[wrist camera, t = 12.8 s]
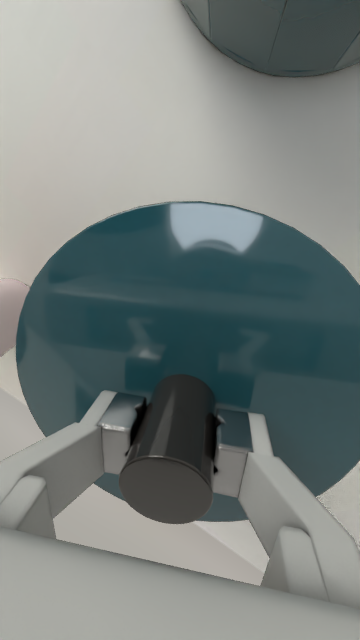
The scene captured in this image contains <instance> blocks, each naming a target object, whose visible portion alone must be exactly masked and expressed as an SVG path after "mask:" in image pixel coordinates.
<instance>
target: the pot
mask: <svg viewBox="0 0 360 640" xmlns="http://www.w3.org/2000/svg"><path fill="white" fill-rule="evenodd" d="M180 1H181V2H182V4H183V6H184V7H185V9H186V11H187V12H188V14H189V16H190V18H191V19H192V20H193V22H194V23H195V24H196V25H197V27H198V28H199V29H200V31H201V32H202V33H203V34H204V36H205V37H206V38H207V39H208V40H209V41H210V42H212V43H213V44H214V45H215V46H216V47H217V48H218V49H219V50H220V51H221V52H223V53H224V54H226V55H227V56H229V57H230V58H232V59H233V60H235V61H236V62H238V63H240V64H242V65H244V66H247V67H249V68H251V69H253V70H255V71H259V72H263V73H267V74H271V75H275V76H288V77H302V76H315V75H320V74H324V73H328V72H333V71H337V70H340V69H343V68H345V67H348V66H351V65H353V64H356V63H358V62H360V0H180Z"/></svg>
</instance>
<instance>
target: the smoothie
mask: <svg viewBox="0 0 360 640" xmlns="http://www.w3.org/2000/svg"><path fill="white" fill-rule="evenodd" d="M29 290H30V288H29V287H28V286H27V285H25V284H24V283H22V282H20V281H17V280H14V279H0V358H1V357H2V356H3V355H4V354H5V353H7V352H8V351H9V350H10V349H11V348H13V347H14V346H15V345H16V334H17V327H18V321H19V316H20V313H21V310H22V307H23V304H24V301H25V297H26V295H27V294H28V292H29Z"/></svg>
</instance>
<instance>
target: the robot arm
mask: <svg viewBox="0 0 360 640" xmlns="http://www.w3.org/2000/svg"><path fill="white" fill-rule="evenodd" d="M146 407H147V399H146V397H142V396H137V395H131V394H126V393H120V392H113V391H107V390H104V391H102V392H101V393H100V395H99V396H98V397H97V399H96V400H95V402H94V403H93V404H92V406H91V407H90V409H89V410H88V411H87V413H86V414H85V416H84V417H83V419H82V420H81V421H80V423H76V422H75V423H73V424H71V425H69V426H67V427H65V428H63V429H61V430H59V431H57V432H56V433H54V434H52V435H50V436H48V437H46V438H44V439H42V440H40V441H38V442H36V443H35V444H33V445H31V446H29V447H27V448H25V449H23V450H21V451H19V452H17V453H15V454H14V455H12V456H10V457H8V458H6V459H4V460H2V461H0V640H360V552H359V549H358V547H357V545H356V542H355V540H354V538H353V537H352V536H351V535H350V534H349V533H348V532H347V530H346V529H345V528H344V527H343V526H342V525H341V524H340V523H339V522H338V521H337V520H336V519H335V517H334V516H333V515H332V514H331V513H330V512H329V511H328V510H327V509H326V508H325V507H324V506H323V504H322V503H321V502H320V501H319V500H318V499H317V498H316V497H315V496H314V495H313V494H312V492H311V491H310V490H309V489H308V488H307V487H306V486H305V485H304V484H303V483H302V482H301V481H300V479H299V478H298V477H297V476H296V475H295V474H294V473H293V472H292V471H291V470H290V469H289V468H288V466H287V465H286V464H285V463H284V462H283V461H282V460H281V459H280V458H279V457H275V456H274V455H273V450H272V446H271V442H270V437H269V433H268V429H267V424H266V420H265V416H264V415H263V414H257V413H249V412H247V413H246V412H240V411H233V410H226V409H219V408H217V410H216V416H215V443H214V489H213V492H214V493H218V494H223V495H227V496H232V497H236V498H238V500H239V502H240V504H241V506H242V508H243V510H244V511H245V513H246V515H247V517H248V519H249V521H250V523H251V525H252V526H253V528H254V530H255V532H256V534H257V536H258V538H259V539H260V541H261V543H262V545H263V547H264V549H265V551H266V552H267V554H268V556H269V558H270V559H269V562H268V565H267V568H266V571H265V574H264V577H263V580H262V583H261V586H257V585H252V584H248V583H244V582H240V581H235V580H231V579H227V578H222V577H218V576H214V575H209V574H205V573H201V572H196V571H191V570H188V569H183V568H179V567H174V566H170V565H166V564H162V563H157V562H153V561H149V560H144V559H140V558H136V557H131V556H127V555H123V554H118V553H113V552H110V551H105V550H101V549H96V548H92V547H88V546H84V545H79V544H75V543H70V542H66V541H62V540H57V539H56V535H55V529H54V524H53V518H54V517H55V516H57V515H58V514H59V513H60V512H61V511H62V510H63V509H65V508H66V507H67V506H68V505H69V504H70V503H71V502H72V501H73V500H75V499H76V498H77V497H78V496H79V495H80V494H81V493H83V492H84V491H85V490H86V489H87V488H88V487H89V486H90V485H92V484H93V483H94V482H95V481H96V480H97V479H98V478H99V477H101V476H102V475H103V474H104V472H107V473H113V474H119V475H120V472H121V469H122V467H123V464H124V462H125V459H126V457H127V454H128V452H129V449H130V447H131V444H132V442H133V440H134V437H135V435H136V432H137V430H138V427H139V425H140V422H141V420H142V417H143V415H144V412H145V410H146Z"/></svg>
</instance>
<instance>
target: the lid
mask: <svg viewBox="0 0 360 640" xmlns="http://www.w3.org/2000/svg"><path fill="white" fill-rule="evenodd" d="M16 362H17V370H18V377H19V380H20V384H21V388H22V392H23V395H24V397H25V400H26V402H27V405H28V407H29V410H30V412H31V414H32V415H33V417H34V419H35V421H36V422H37V424H38V426H39V428H40V429H41V431H42V432H43V434H44V435H45V436H46V437H48V436H50V435H52V434H54V433H56V432H57V431H59V430H61V429H63V428H65V427H67V426H69V425H71V424H73V423H75V422H76V423H80V421H81V420H82V419H83V417H84V416H85V414H86V413H87V411H88V410H89V409H90V407H91V406H92V404H93V403H94V402H95V400H96V399H97V397H98V396H99V395H100V393H101V392H102V391H104V390H107V391H113V392H120V393H126V394H131V395H137V396H142V397H146V399H147V407H146V410H145V412H144V415H143V417H142V420H141V422H140V425H139V427H138V430H137V432H136V435H135V437H134V440H133V442H132V444H131V447H130V449H129V452H128V454H127V457H126V459H125V462H124V464H123V467H122V469H121V472H120V475H119V474H113V473H107V472H104V474H103V475H102V476H101V477H99V478H98V479H97V480H96V481H95V482H94V484H96V485H97V486H99V487H100V488H102V489H103V490H105V491H107V492H108V493H110V494H112V495H114V496H116V497H118V498H120V499H122V500H124V501H126V502H127V503H128V504H129V505H130V506H131V507H132V508H133V509H135V510H136V511H137V512H139V513H140V514H142V515H143V516H145V517H147V518H150V519H152V520H155V521H158V522H162V523H169V524H184V523H189V522H193V521H195V520H196V521H209V522H230V521H240V520H249V519H248V517H247V515H246V513H245V511H244V510H243V508H242V506H241V504H240V502H239V500H238V498H236V497H232V496H227V495H223V494H218V493H214V492H213V489H214V443H215V416H216V410H217V408H219V409H226V410H233V411H240V412H246V413H247V412H249V413H257V414H263V415H264V416H265V420H266V424H267V429H268V433H269V437H270V442H271V446H272V450H273V455H274V456H275V457H279V458H280V459H281V460H282V461H283V462H284V463H285V464H286V465H287V466H288V468H289V469H290V470H291V471H292V472H293V473H294V474H295V475H296V476H297V477H298V478H299V479H300V481H301V482H302V483H303V484H304V485H305V486H306V487H307V488H308V489H309V490H310V491H311V492H312V494H313V495H314V496H315V497H317V496H318V495H320V494H322V493H324V492H325V491H326V490H328V489H329V488H331V487H332V486H333V485H335V484H336V483H337V482H339V481H340V480H341V479H342V478H343V477H344V476H345V475H346V474H347V473H348V472H349V471H350V470H351V469H353V468H354V467H355V466H356V464H357V463H358V462H359V460H360V285H359V284H358V282H357V281H356V280H355V279H354V277H353V276H352V275H351V274H350V273H349V271H348V270H347V269H346V268H345V266H344V265H343V264H341V263H340V262H339V261H338V260H337V259H336V258H335V257H334V256H332V255H331V254H330V253H329V252H328V251H327V250H326V249H325V248H323V247H322V246H321V245H320V244H318V243H317V242H315V241H314V240H312V239H310V238H309V237H307V236H306V235H304V234H303V233H301V232H300V231H298V230H296V229H295V228H293V227H291V226H289V225H286V224H284V223H282V222H280V221H278V220H275V219H273V218H271V217H269V216H266V215H264V214H261V213H257V212H254V211H250V210H247V209H243V208H240V207H236V206H232V205H225V204H217V203H210V202H202V201H183V202H164V203H158V204H152V205H145V206H139V207H136V208H133V209H130V210H127V211H123V212H120V213H117V214H114V215H111V216H109V217H107V218H105V219H103V220H101V221H99V222H97V223H95V224H93V225H91V226H89V227H87V228H86V229H84V230H83V231H82V232H80V233H79V234H77V235H76V236H74V237H73V238H72V239H70V240H69V241H67V242H66V243H65V244H64V245H63V246H62V247H61V248H60V249H59V250H58V251H57V252H56V253H55V254H54V255H53V256H52V257H51V258H50V259H49V260H48V262H47V263H46V264H45V266H44V267H43V268H42V270H41V271H40V272H39V274H38V275H37V277H36V278H35V280H34V282H33V284H32V286H31V288H30V290H29V292H28V294H27V295H26V297H25V301H24V304H23V307H22V310H21V313H20V316H19V321H18V327H17V334H16Z"/></svg>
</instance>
